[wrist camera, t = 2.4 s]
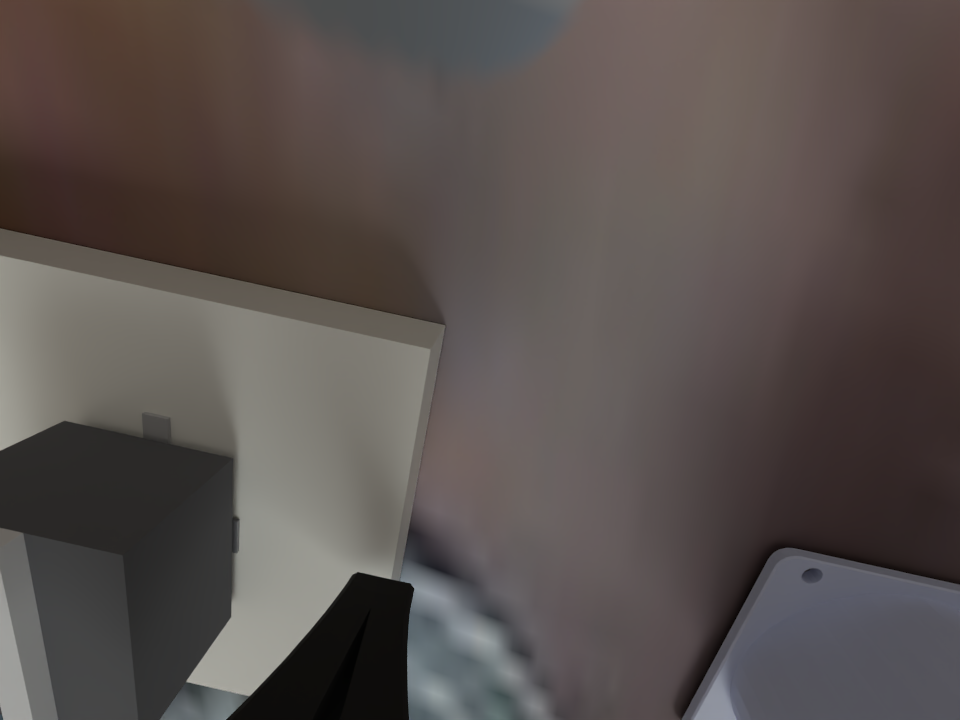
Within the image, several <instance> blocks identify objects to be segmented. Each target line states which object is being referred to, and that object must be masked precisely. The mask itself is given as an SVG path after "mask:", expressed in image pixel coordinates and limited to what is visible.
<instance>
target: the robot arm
mask: <svg viewBox="0 0 960 720" xmlns="http://www.w3.org/2000/svg"><path fill="white" fill-rule="evenodd" d="M808 569H810V570H809V571H806V570H808ZM805 571H806V572H805ZM413 593H414V588H413V587H412V585H411V584H410V583H405V582H401V581H396V580H392V579H387V578H383V577H378V576H374V575H369V574H365V573H360V572H357V573H355V574H353V575H352V576H351V578H350V579H349V581H348V582H347V584H346V585H345V586H344V588H343V589H342V591H341V592H340V593H339V595H338V596H337V597H336V599H335V600H334V601H333V603H332V604H331V605H330V606H329V608H328V609H327V610H326V611H325V613H324V614H323V615H322V616H321V618H320V619H319V620H318V621H317V623H316V624H315V625H314V626H313V627H312V629H311V630H310V631H309V632H308V633H307V634H306V635H305V637H304V638H303V639H302V640H301V641H300V642H299V644H298V645H297V646H296V647H295V648H294V649H293V650H292V652H291V653H290V654H289V655H288V656H287V657H286V658H285V660H284V661H283V662H282V663H281V664H280V665H279V666H278V667H277V668H276V669H275V670H274V671H273V672H272V673H271V674H270V676H269V677H268V678H267V679H266V680H265V681H264V682H263V683H262V684H261V685H260V686H259V687H258V688H257V689H256V690H255V691H254V692H253V693H252V694H251V695H250V697H249V698H248V699H247V700H246V701H245V702H244V703H243V704H242V705H241V706H240V707H239V708H238V709H237V710H236V711H235V712H234V713H233V714H232V715H231V716H230V717H229V718H228V719H226V720H409V714H408V690H407V641H408V624H409V614H410V608H411V603H412V598H413ZM682 720H960V585H959V584H954V583H950V582H945V581H941V580H936V579H932V578H927V577H923V576H918V575H914V574H909V573H905V572H900V571H895V570H891V569H886V568H882V567H877V566H873V565H868V564H864V563H859V562H855V561H850V560H846V559H841V558H837V557H832V556H828V555H823V554H819V553H814V552H810V551H805V550H801V549H796V548H783V549H779V550H777V551H775V552H774V553H773V554H772V555H771V556H770V557H769V559H768V560H767V562H766V564H765V566H764V568H763V570H762V572H761V573H760V575H759V577H758V579H757V581H756V583H755V584H754V586H753V588H752V590H751V592H750V594H749V596H748V597H747V599H746V601H745V603H744V605H743V607H742V609H741V610H740V612H739V614H738V616H737V618H736V620H735V622H734V623H733V625H732V627H731V629H730V631H729V633H728V635H727V636H726V638H725V640H724V642H723V644H722V646H721V648H720V649H719V651H718V653H717V655H716V657H715V659H714V660H713V662H712V664H711V666H710V668H709V670H708V672H707V673H706V675H705V677H704V679H703V681H702V683H701V685H700V686H699V688H698V690H697V692H696V694H695V696H694V698H693V699H692V701H691V703H690V705H689V707H688V709H687V711H686V712H685V714H684V716H683V718H682Z"/></svg>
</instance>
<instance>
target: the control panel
mask: <svg viewBox="0 0 960 720" xmlns="http://www.w3.org/2000/svg"><path fill="white" fill-rule="evenodd" d="M445 326H446V325H442V324H437V323H433V322H428V321H423V320H419V319H414V318H410V317H405V316H401V315H396V314H391V313H387V312H382V311H378V310H373V309H368V308H364V307H359V306H355V305H350V304H345V303H341V302H336V301H332V300H327V299H322V298H318V297H313V296H309V295H304V294H299V293H295V292H290V291H286V290H281V289H277V288H272V287H267V286H263V285H258V284H254V283H249V282H244V281H240V280H235V279H231V278H226V277H221V276H217V275H212V274H208V273H203V272H198V271H194V270H189V269H185V268H180V267H175V266H171V265H166V264H162V263H157V262H153V261H148V260H143V259H139V258H134V257H130V256H125V255H120V254H116V253H111V252H107V251H102V250H97V249H93V248H88V247H84V246H79V245H74V244H70V243H65V242H61V241H56V240H51V239H47V238H42V237H38V236H33V235H28V234H24V233H19V232H15V231H10V230H6V229H1V228H0V451H1V450H3V449H5V448H7V447H9V446H11V445H14V444H16V443H18V442H20V441H22V440H24V439H26V438H29V437H31V436H33V435H35V434H37V433H39V432H41V431H43V430H46V429H48V428H50V427H52V426H54V425H56V424H58V423H61V422H63V421H68V422H73V423H77V424H82V425H86V426H91V427H95V428H100V429H104V430H109V431H113V432H118V433H122V434H127V435H131V436H136V437H140V438H145V439H149V440H154V441H158V442H163V443H167V444H172V445H176V446H181V447H185V448H190V449H194V450H199V451H203V452H208V453H212V454H217V455H221V456H226V457H230V458H233V526H232V602H231V618H230V620H229V621H228V622H227V624H226V625H225V627H224V628H223V630H222V631H221V632H220V634H219V635H218V637H217V638H216V640H215V641H214V642H213V644H212V645H211V647H210V648H209V650H208V651H207V652H206V654H205V655H204V657H203V658H202V660H201V661H200V662H199V664H198V665H197V667H196V668H195V669H194V671H193V672H192V674H191V675H190V677H189V678H188V679H187V681H186V682H190V683H194V684H198V685H203V686H207V687H211V688H216V689H220V690H225V691H229V692H233V693H238V694H242V695H247V696H250V695H251V694H252V693H253V692H254V691H255V690H256V689H257V688H258V687H259V686H260V685H261V684H262V683H263V682H264V681H265V680H266V679H267V678H268V677H269V676H270V674H271V673H272V672H273V671H274V670H275V669H276V668H277V667H278V666H279V665H280V664H281V663H282V662H283V661H284V660H285V658H286V657H287V656H288V655H289V654H290V653H291V652H292V650H293V649H294V648H295V647H296V646H297V645H298V644H299V642H300V641H301V640H302V639H303V638H304V637H305V635H306V634H307V633H308V632H309V631H310V630H311V629H312V627H313V626H314V625H315V624H316V623H317V621H318V620H319V619H320V618H321V616H322V615H323V614H324V613H325V611H326V610H327V609H328V608H329V606H330V605H331V604H332V603H333V601H334V600H335V599H336V597H337V596H338V595H339V593H340V592H341V591H342V589H343V588H344V586H345V585H346V584H347V582H348V581H349V579H350V578H351V576H352V575H353V574H355V573H357V572H360V573H365V574H369V575H374V576H378V577H383V578H387V579H392V580H396V581H399V580H400V575H401V569H402V563H403V558H404V552H405V547H406V541H407V536H408V530H409V525H410V519H411V514H412V508H413V503H414V497H415V492H416V486H417V481H418V475H419V470H420V464H421V459H422V453H423V448H424V442H425V437H426V431H427V426H428V420H429V414H430V409H431V403H432V398H433V392H434V387H435V381H436V376H437V370H438V365H439V359H440V354H441V348H442V343H443V337H444V332H445Z"/></svg>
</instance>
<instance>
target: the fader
mask: <svg viewBox="0 0 960 720" xmlns="http://www.w3.org/2000/svg"><path fill="white" fill-rule="evenodd" d="M232 526H233V458H230V457H226V456H221V455H217V454H212V453H208V452H203V451H199V450H194V449H190V448H185V447H181V446H176V445H172V444H167V443H163V442H158V441H154V440H149V439H145V438H140V437H136V436H131V435H127V434H122V433H118V432H113V431H109V430H104V429H100V428H95V427H91V426H86V425H82V424H77V423H73V422H68V421H63V422H61V423H58V424H56V425H54V426H52V427H50V428H48V429H46V430H43V431H41V432H39V433H37V434H35V435H33V436H31V437H29V438H26V439H24V440H22V441H20V442H18V443H16V444H14V445H11V446H9V447H7V448H5V449H3V450H1V451H0V714H2V715H3V719H4V720H159V719H160V718H161V717H162V715H163V714H164V712H165V711H166V709H167V708H168V707H169V705H170V704H171V702H172V701H173V699H174V698H175V697H176V695H177V694H178V692H179V691H180V689H181V688H182V687H183V685H184V684H185V682H186V681H187V679H188V678H189V677H190V675H191V674H192V672H193V671H194V669H195V668H196V667H197V665H198V664H199V662H200V661H201V660H202V658H203V657H204V655H205V654H206V652H207V651H208V650H209V648H210V647H211V645H212V644H213V642H214V641H215V640H216V638H217V637H218V635H219V634H220V632H221V631H222V630H223V628H224V627H225V625H226V624H227V622H228V621H229V620H230V618H231V602H232Z"/></svg>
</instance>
